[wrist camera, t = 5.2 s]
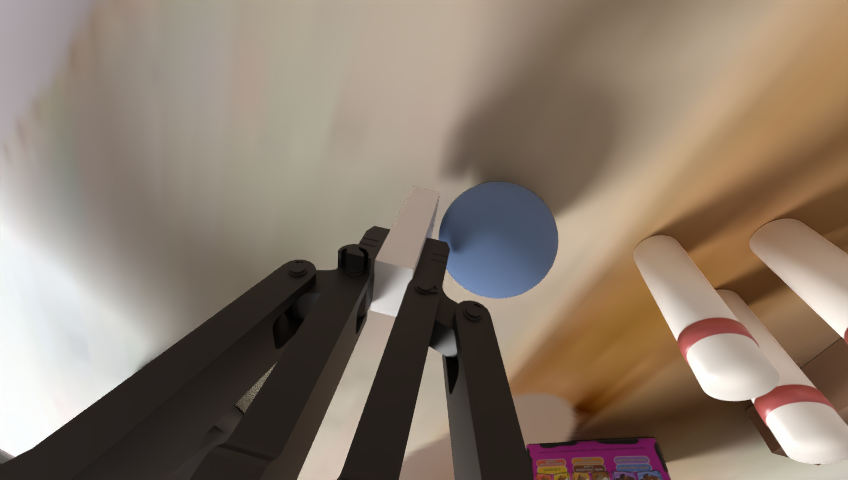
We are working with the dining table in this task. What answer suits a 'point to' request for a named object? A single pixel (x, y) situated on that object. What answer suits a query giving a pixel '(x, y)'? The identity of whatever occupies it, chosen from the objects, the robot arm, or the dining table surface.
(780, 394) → the pin
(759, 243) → the pin
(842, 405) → the back wall
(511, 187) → the ball
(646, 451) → the candy bar box
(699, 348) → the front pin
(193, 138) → the dining table surface
